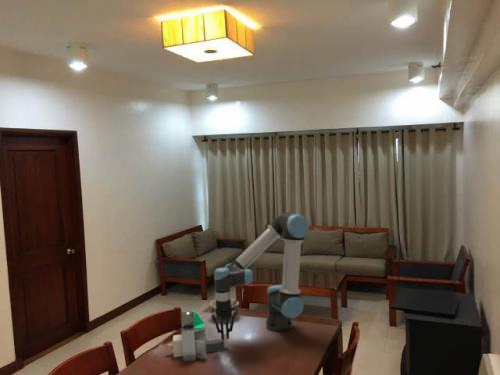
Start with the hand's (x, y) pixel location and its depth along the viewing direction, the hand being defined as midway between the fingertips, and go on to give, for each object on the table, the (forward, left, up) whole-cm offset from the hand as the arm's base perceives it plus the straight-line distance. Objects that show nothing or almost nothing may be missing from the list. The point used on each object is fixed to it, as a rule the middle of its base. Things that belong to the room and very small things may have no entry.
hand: (225, 345), depth 212 cm
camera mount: (+16, -28, -2) cm, 33 cm away
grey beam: (+15, 0, -2) cm, 15 cm away
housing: (+15, 0, -2) cm, 15 cm away
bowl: (-3, -43, -2) cm, 43 cm away
